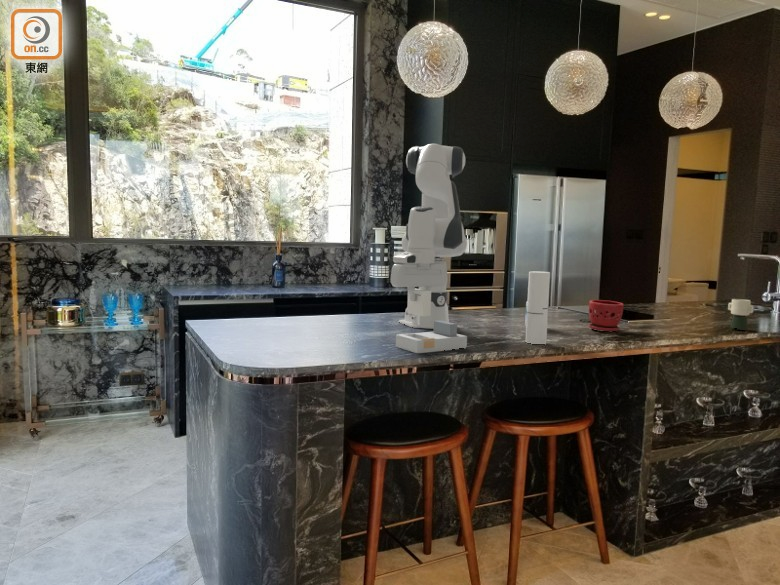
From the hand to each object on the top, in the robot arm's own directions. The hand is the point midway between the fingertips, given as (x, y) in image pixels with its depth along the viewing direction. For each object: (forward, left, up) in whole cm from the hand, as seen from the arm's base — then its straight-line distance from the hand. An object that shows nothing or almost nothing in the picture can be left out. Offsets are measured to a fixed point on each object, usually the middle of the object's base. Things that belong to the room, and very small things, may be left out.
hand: (419, 300), depth 192 cm
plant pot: (+1, +93, -16) cm, 94 cm away
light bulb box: (-14, +69, -16) cm, 72 cm away
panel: (0, 0, -4) cm, 4 cm away
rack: (0, +6, -16) cm, 17 cm away
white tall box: (+9, +45, -16) cm, 48 cm away
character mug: (+24, +152, -16) cm, 154 cm away
